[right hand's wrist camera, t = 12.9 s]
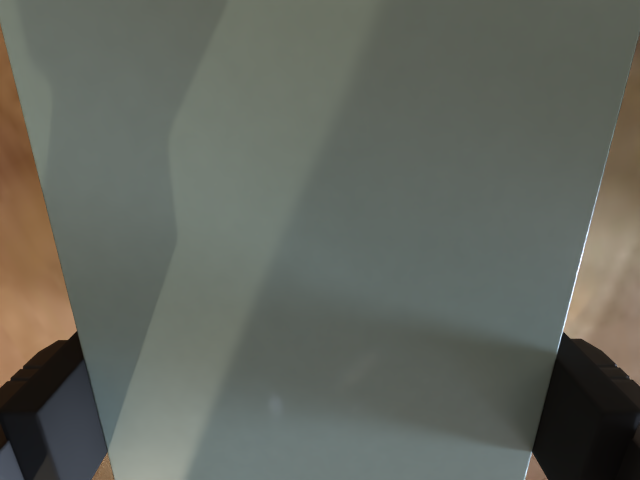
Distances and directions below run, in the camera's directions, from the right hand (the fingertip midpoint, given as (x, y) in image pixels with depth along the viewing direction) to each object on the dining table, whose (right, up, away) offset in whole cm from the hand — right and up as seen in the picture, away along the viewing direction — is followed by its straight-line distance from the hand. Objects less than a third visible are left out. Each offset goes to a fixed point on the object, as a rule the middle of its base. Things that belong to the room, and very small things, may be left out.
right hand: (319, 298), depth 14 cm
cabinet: (0, +7, +2) cm, 8 cm away
